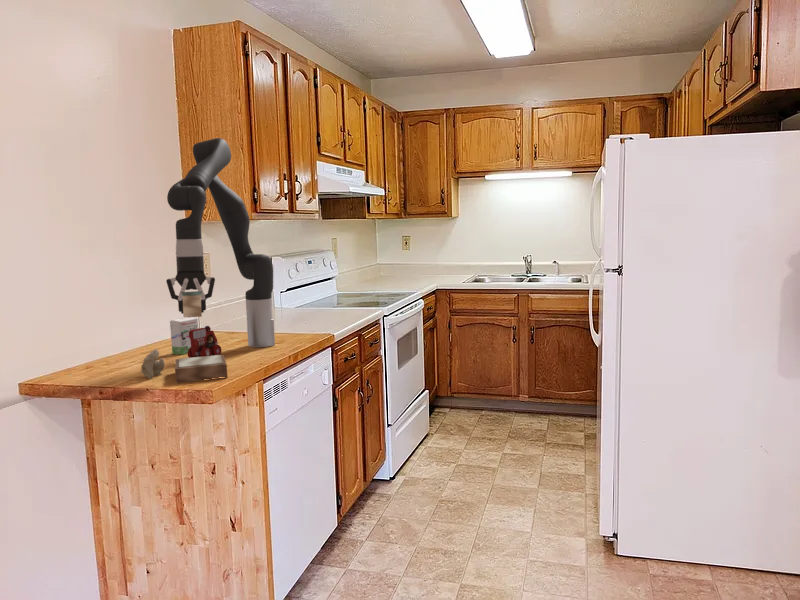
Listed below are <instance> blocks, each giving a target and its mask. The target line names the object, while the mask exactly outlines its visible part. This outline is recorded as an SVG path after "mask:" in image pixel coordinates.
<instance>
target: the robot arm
mask: <svg viewBox="0 0 800 600" xmlns="http://www.w3.org/2000/svg"><path fill="white" fill-rule="evenodd" d="M192 146H193V147H192V155H193V158H194V160H195V163H196V165H194V166H193V167H192V168H190V170H189V171H188V172H187V174H186V175H185V177H184V178H182V179H180V180H179V181H177V182H176V183H174V184H173V185H172V186H171V187H170V188H169V190H168V191H167V195H166V197H167V198H166V199H167V203H168V205H169V207H170V208H171V209H172V210H175V211H180V212H181V211H191V212H190V214H189V216H186V217H185V218H181V219H178V220H176V222H175V237H176V239H175V242H176V243H175V256H176V258H175V259H176V260H175V261H176V275H175V277H172V278H167V279H166V285H167V288H168V290H169V294H170V299H172V300H176V301H178V302H177V303H178V304H177V307H178V312H179V313H181V314H183V296H182V293H184V292H186V291H190V290H192V291H193V290H196V291H198V292H201V313H202V314H203V313H205V311H206V310H207V303H206V300H207V299H210V298H212V296H213V292H214V287H215V282H216V279H215V277H213V276H212V277H211V276H206V274H205V266H204V265H205V264H204V263H205V262H204V261H205V260H204V246H203V241H202V239H203V237H202V222H203V216H204V211H205V208H206V203H207V193H206V192H207V190H208V189H209V192H210V194H211V197H212V199H213V202H214V204H215V207H216V209H217V212H218V215H219V218H220V219H221V222H222V224H223V227H224V228H225V231H226V233H227V237H228V240H229V242H230V244H231V247H232V250H233V254H234V258H235V262H236V264H237V265H236V266H237V268H238V270H239V273H240V275H241V276H242V277H243V278H244V279H245V280H249V281H251V280H252V281H253V285H252V287H251V288H250V289H248V290H246V291H245V292H244V294H245V308H246V309H245V312H246V314H245V315H246V329H247V330H246V331H247V345H248V347H250V348H266V347H271V346H276V339H275V323H274V322H275V320H274V317H273V300H272V299H273V298H272V295H273V291H274V265H273V261H272V258H271V257H270V256H268V255H267V254H263V253H262V254H260V253H259V254H258V253H257V254H255V253H254V252H253V250H252V248H251V245H250V242H249V229H250V222H251V219H250V215H249V212H248V210H247V207H246V204H245V202H244V200H243V199H242V198H241V197H240V196H239V195H238V194H237V193H236V192H235V191H234V190H233V189H231V188H230V187H229V186H227V184H225V183H224V182H223V180H221V178H220V177H219V176H218V175H219V173H220V172H221V171H222V170H223V169H224V168H225V167H227V166H228V165H229V164H230V162H231V160H232V151H231V148H230V145H229V144H228V142H227V141H226V140H225V139H224V138H221V137H220V138H219V137H215V138H211V139H208V140H204V141H200V142H196V143H194V144H193V145H192ZM205 281H207V282H206V283H207V284H208V285H209V286H208V290H207V293H206V294H205V292H204V290H203V287H202V285H203V283H204V282H205ZM175 282H177V283H178V285H179V286H180V287H181V288H180V291H179V294H176V293H175V292H176V291H175V289H174V286H175V284H176V283H175Z"/></svg>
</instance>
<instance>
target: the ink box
mask: <svg viewBox="0 0 800 600" xmlns="http://www.w3.org/2000/svg"><path fill="white" fill-rule="evenodd" d="M169 327H170V341H171V351H172V352H171V353H172V354H173V355H186V354H187V353H188V349H189V348H190V347H191V340H190V338H189V331H190V330H195V329H199V319H198V317H185V318H184V317H182V318H175V319H171V320H169Z"/></svg>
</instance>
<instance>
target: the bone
mask: <svg viewBox="0 0 800 600" xmlns="http://www.w3.org/2000/svg"><path fill="white" fill-rule="evenodd" d="M159 356H160V352H159V350H158V348H154V350H151V351H150V353H149V354H147V355H146V356H145V358H144V359H143V362H142V364H141V366H140V369H141V370H140V372H141V374H142V376H143V377H144V378H145V377H147V378H148V380H152V379H153V377H154V376H160V375H163V373H162V372H163V370H164V368H165V365H166V364H165V359H164V358H163V357H160V358H159ZM158 358H159V360H158Z"/></svg>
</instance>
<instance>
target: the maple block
mask: <svg viewBox="0 0 800 600" xmlns="http://www.w3.org/2000/svg"><path fill="white" fill-rule="evenodd" d="M182 296H183V318H187V317H191V318H201V317H202V316H203V313H201V292H198V290H196V291H193V290H191V291H185V292H184V293H182Z"/></svg>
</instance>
